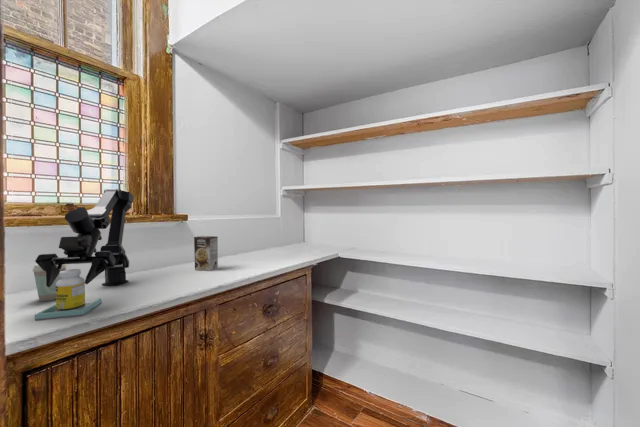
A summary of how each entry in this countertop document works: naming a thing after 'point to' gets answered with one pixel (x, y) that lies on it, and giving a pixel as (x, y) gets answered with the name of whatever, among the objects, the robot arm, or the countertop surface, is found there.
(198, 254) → the coffee box
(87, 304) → the dock
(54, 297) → the coffee cup
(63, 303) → the pill bottle
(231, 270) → the countertop surface
